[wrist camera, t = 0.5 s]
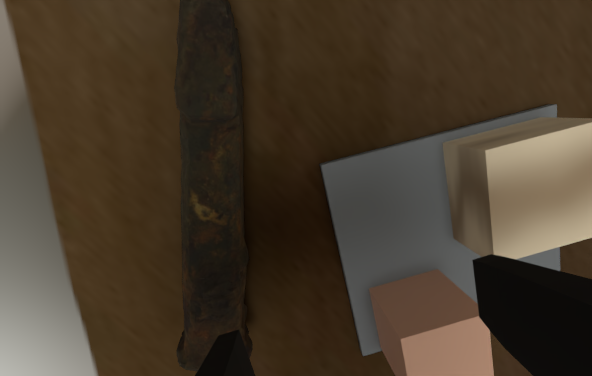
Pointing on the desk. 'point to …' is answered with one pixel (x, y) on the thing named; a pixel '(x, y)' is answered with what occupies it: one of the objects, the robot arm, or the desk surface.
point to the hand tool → (210, 178)
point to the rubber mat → (404, 218)
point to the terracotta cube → (431, 328)
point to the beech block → (521, 186)
